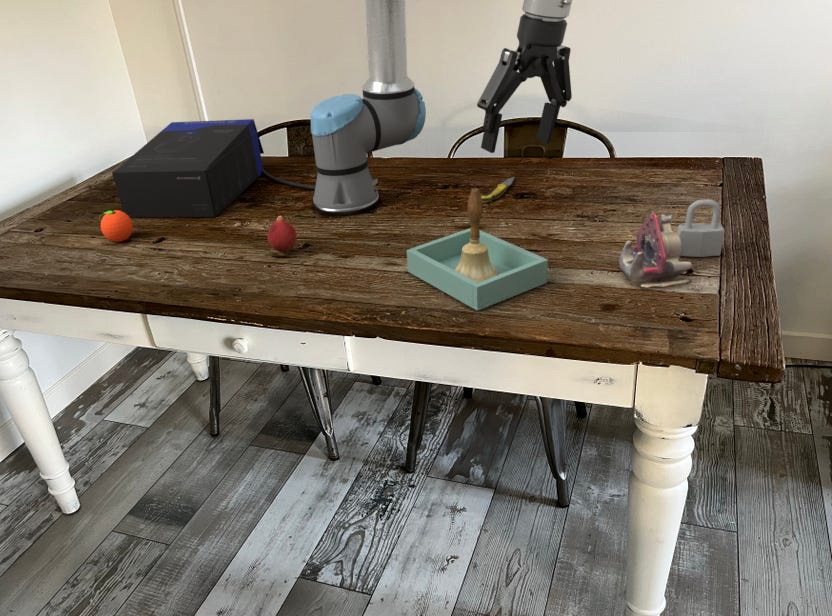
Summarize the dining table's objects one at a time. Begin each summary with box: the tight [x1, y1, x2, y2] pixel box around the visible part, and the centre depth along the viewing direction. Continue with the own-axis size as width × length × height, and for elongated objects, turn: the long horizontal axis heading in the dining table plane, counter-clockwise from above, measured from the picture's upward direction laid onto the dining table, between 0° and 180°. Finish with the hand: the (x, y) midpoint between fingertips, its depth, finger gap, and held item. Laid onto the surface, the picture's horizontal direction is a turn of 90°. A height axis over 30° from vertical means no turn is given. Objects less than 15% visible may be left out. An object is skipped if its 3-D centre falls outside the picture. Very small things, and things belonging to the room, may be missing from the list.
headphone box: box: [111, 118, 265, 218], centre depth 188 cm, size 25×35×14 cm
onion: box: [267, 215, 298, 255], centre depth 150 cm, size 6×6×8 cm
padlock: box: [676, 198, 725, 258], centre depth 130 cm, size 7×4×10 cm, turn 78°
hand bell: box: [454, 187, 499, 283], centre depth 130 cm, size 8×8×16 cm
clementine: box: [98, 209, 134, 243], centre depth 166 cm, size 8×7×7 cm
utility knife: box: [481, 176, 515, 203], centre depth 170 cm, size 16×1×3 cm
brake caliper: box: [618, 211, 693, 289], centre depth 126 cm, size 11×11×12 cm
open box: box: [406, 227, 549, 312], centre depth 133 cm, size 20×15×4 cm
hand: (515, 145), depth 132 cm, fingers open, 13 cm apart
